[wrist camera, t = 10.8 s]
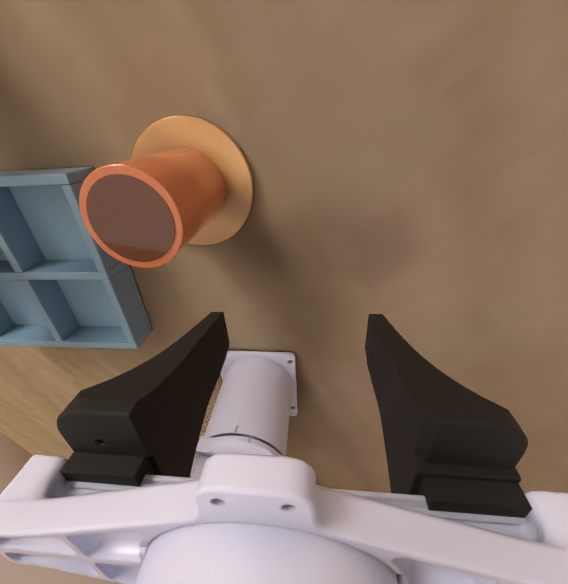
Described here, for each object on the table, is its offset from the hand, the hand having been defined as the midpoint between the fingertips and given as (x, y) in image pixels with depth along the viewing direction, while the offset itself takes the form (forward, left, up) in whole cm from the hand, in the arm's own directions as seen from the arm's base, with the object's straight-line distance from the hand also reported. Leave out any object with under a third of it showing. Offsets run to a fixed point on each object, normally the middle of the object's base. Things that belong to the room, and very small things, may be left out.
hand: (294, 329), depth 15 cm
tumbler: (+5, +8, -10) cm, 14 cm away
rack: (-1, +23, -10) cm, 25 cm away
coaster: (+5, +8, -10) cm, 14 cm away
